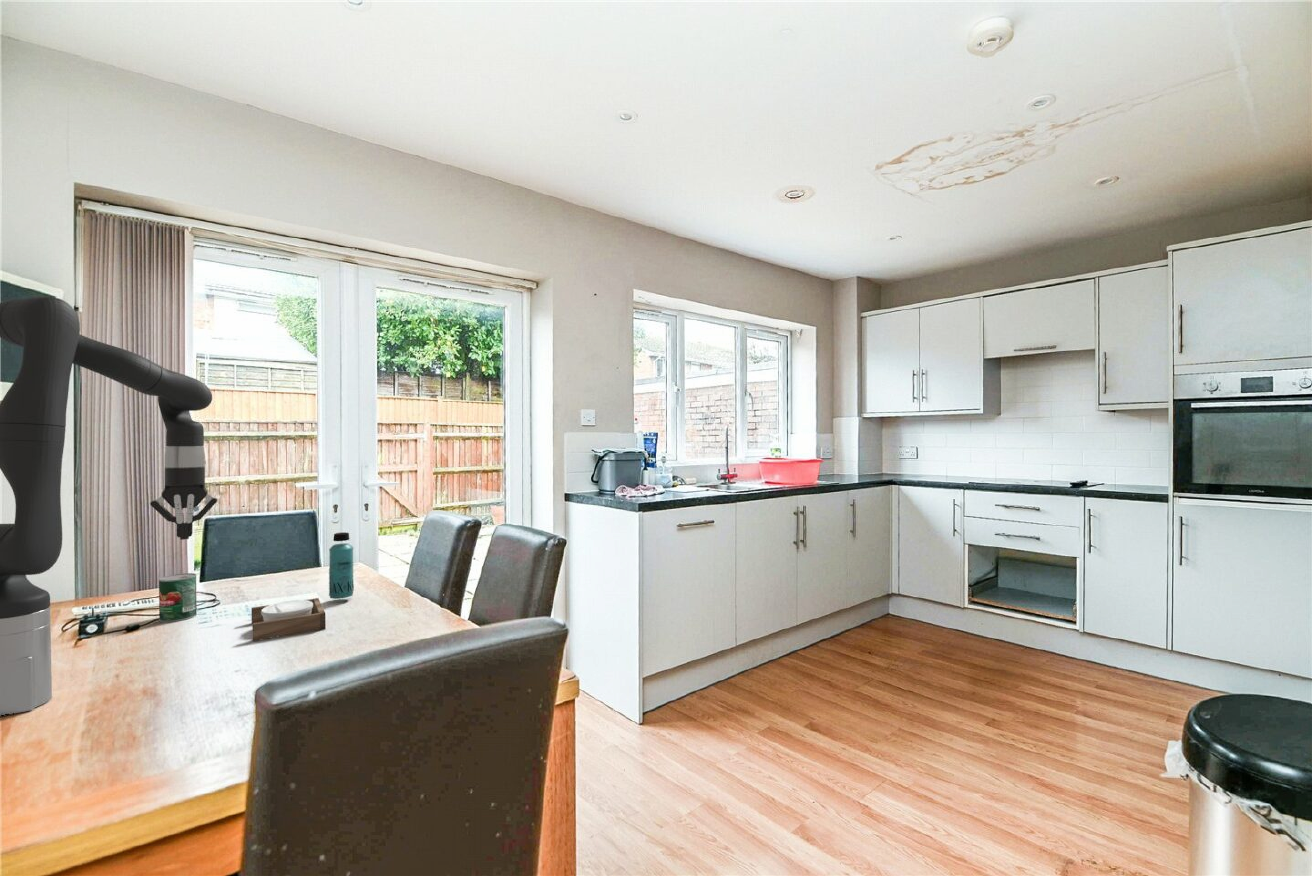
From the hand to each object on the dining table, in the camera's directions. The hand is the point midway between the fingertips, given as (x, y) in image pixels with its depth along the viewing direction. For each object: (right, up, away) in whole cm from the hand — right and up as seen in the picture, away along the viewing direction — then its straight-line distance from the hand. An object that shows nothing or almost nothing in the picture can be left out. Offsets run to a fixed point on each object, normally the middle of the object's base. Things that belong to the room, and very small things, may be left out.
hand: (184, 539), depth 141 cm
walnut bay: (+16, -24, +12) cm, 32 cm away
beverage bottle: (+19, -24, +34) cm, 46 cm away
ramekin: (+17, -25, +12) cm, 32 cm away
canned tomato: (-17, -25, +19) cm, 35 cm away
